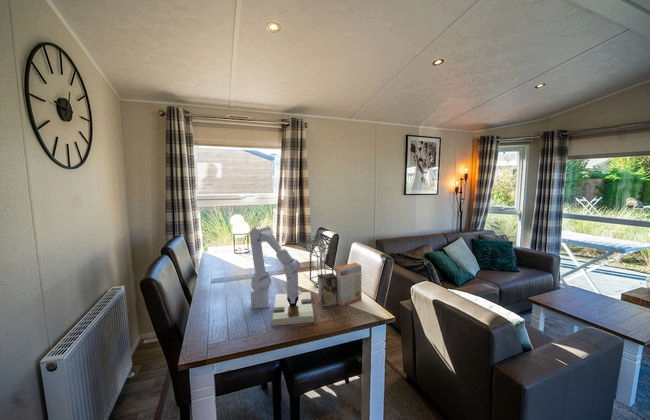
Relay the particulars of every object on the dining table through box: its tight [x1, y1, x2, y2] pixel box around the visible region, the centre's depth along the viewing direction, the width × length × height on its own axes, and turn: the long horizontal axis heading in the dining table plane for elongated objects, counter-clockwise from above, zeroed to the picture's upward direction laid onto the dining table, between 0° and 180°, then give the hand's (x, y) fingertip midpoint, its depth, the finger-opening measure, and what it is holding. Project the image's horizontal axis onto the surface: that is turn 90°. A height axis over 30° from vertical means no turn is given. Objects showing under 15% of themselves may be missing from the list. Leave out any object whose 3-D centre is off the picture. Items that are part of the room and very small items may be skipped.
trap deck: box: [271, 291, 315, 327], centre depth 131 cm, size 20×28×3 cm
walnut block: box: [288, 306, 299, 317], centre depth 120 cm, size 5×5×4 cm
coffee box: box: [317, 272, 338, 308], centre depth 135 cm, size 9×6×16 cm
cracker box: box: [335, 262, 363, 307], centre depth 136 cm, size 14×6×21 cm, turn 120°
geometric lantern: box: [304, 232, 337, 288], centre depth 156 cm, size 16×16×35 cm
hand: (293, 309), depth 125 cm, fingers closed
